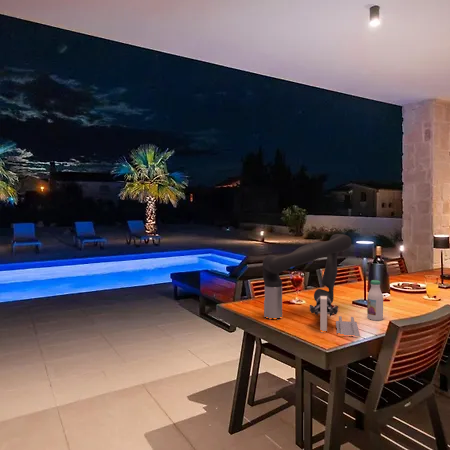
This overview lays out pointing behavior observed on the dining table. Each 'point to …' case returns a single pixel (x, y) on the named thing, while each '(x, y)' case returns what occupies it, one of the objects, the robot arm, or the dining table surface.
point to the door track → (347, 327)
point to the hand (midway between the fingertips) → (323, 313)
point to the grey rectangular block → (323, 313)
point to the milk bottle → (375, 301)
